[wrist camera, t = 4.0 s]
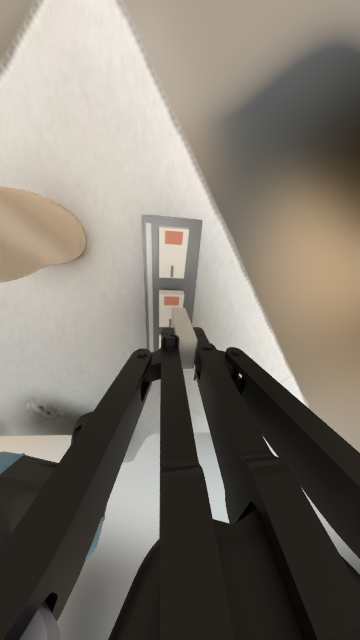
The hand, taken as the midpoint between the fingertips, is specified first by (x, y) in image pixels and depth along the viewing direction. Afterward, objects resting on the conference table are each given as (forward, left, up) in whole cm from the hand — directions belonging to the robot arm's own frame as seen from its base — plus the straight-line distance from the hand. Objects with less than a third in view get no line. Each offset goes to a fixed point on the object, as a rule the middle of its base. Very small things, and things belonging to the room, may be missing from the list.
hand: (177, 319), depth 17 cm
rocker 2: (0, -2, -9) cm, 9 cm away
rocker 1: (0, +7, -9) cm, 11 cm away
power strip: (0, -7, -15) cm, 16 cm away
